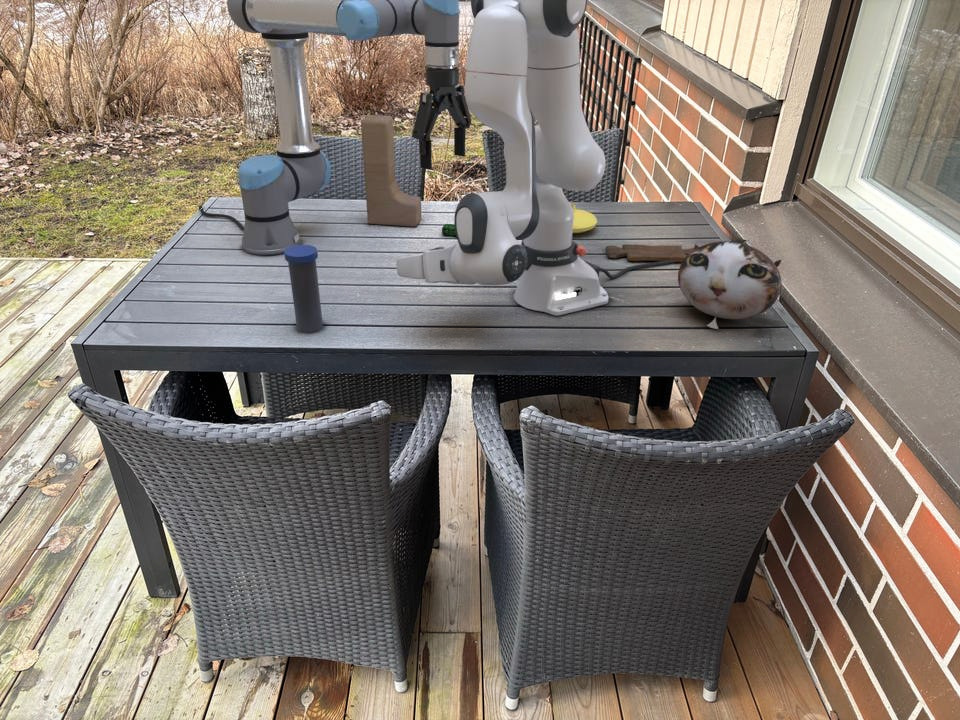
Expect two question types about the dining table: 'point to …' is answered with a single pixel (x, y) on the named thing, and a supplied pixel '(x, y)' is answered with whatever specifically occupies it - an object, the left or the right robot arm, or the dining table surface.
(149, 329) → the dining table surface
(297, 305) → the jar
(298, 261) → the lid
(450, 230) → the handgun
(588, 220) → the yellow thick rounded disc
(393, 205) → the decorative block
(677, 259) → the brown notched plank
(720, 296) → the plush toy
